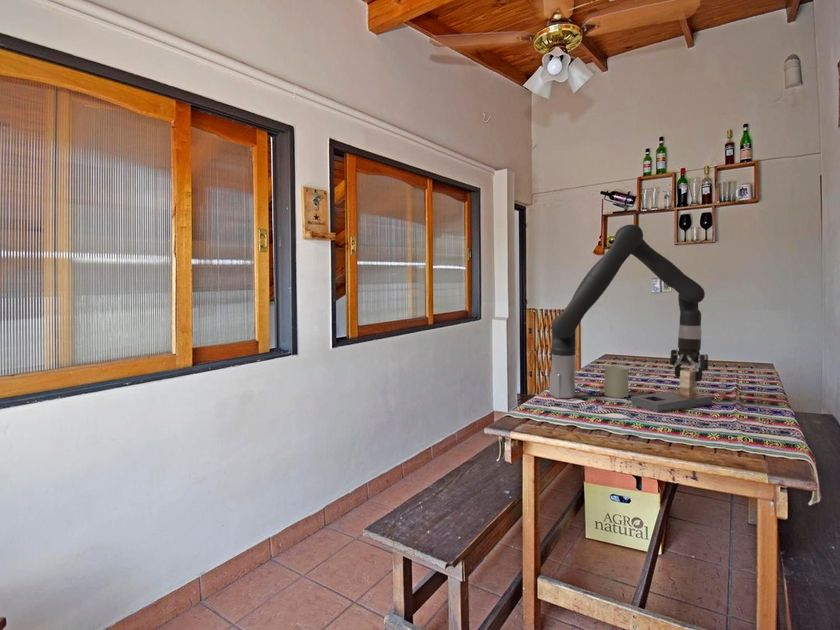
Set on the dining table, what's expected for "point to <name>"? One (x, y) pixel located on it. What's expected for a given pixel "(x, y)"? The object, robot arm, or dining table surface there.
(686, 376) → the peg
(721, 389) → the dining table surface
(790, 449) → the dining table surface
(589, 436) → the dining table surface
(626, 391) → the can
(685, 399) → the grey slotted board
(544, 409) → the dining table surface
